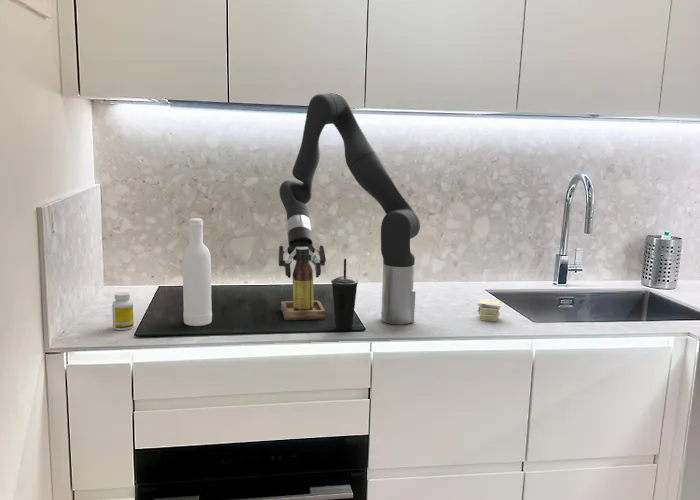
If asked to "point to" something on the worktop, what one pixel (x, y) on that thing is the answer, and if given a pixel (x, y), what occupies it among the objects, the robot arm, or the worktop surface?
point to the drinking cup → (344, 300)
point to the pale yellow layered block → (488, 309)
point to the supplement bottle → (122, 311)
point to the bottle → (197, 278)
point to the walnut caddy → (290, 314)
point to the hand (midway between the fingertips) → (303, 276)
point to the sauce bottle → (302, 281)
